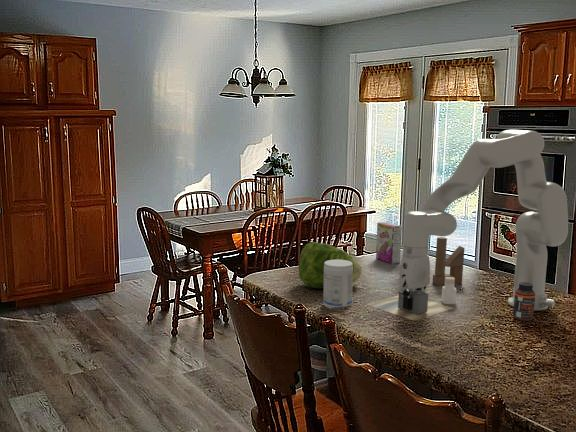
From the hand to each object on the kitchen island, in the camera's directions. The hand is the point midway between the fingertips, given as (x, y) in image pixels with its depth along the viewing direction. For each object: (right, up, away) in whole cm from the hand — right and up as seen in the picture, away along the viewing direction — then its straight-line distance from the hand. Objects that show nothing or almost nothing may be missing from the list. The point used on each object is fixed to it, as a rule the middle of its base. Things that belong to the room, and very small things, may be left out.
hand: (412, 307), depth 184 cm
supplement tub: (-23, -1, +8) cm, 24 cm away
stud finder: (0, -1, 0) cm, 1 cm away
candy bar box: (+4, +9, +71) cm, 72 cm away
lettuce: (-24, +3, +30) cm, 39 cm away
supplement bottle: (+34, -3, -2) cm, 34 cm away
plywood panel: (0, -2, +5) cm, 5 cm away
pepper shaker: (+14, -1, +10) cm, 17 cm away
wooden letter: (+21, +3, +36) cm, 42 cm away
